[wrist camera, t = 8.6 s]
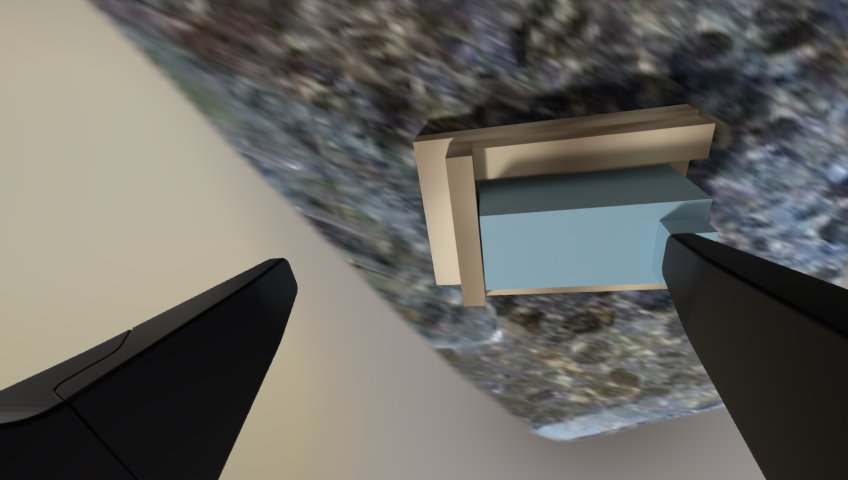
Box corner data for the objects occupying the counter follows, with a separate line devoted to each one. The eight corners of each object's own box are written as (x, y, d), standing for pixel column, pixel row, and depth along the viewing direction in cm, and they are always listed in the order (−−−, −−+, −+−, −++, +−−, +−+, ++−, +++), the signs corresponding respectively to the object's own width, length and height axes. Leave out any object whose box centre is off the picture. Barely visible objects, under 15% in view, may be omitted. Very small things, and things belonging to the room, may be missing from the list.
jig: (686, 104, 18) (729, 122, 15) (658, 263, 22) (686, 302, 19) (416, 135, 20) (405, 157, 17) (438, 274, 25) (432, 310, 22)
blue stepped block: (669, 164, 18) (729, 212, 14) (657, 236, 20) (706, 299, 16) (480, 182, 20) (479, 229, 16) (485, 247, 22) (486, 306, 17)
